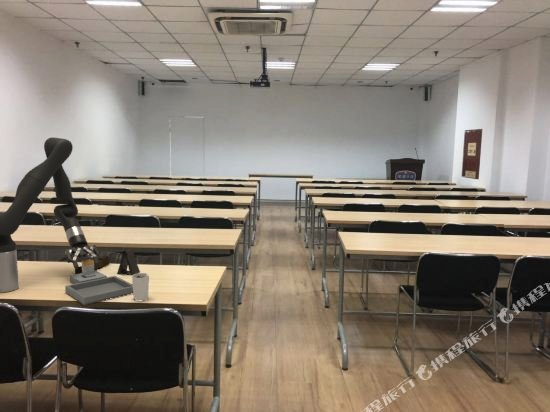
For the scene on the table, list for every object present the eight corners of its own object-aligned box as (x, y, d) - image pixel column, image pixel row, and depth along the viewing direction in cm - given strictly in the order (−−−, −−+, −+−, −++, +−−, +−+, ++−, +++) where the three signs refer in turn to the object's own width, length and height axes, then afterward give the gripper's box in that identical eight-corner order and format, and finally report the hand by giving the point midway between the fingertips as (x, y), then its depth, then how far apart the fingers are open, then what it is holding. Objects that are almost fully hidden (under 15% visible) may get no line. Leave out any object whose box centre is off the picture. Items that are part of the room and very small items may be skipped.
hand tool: (82, 277, 207) (81, 265, 206) (74, 275, 209) (73, 264, 208) (114, 265, 228) (114, 255, 228) (107, 264, 230) (106, 254, 229)
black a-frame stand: (139, 272, 216) (139, 248, 214) (133, 275, 210) (133, 251, 208) (123, 270, 218) (122, 247, 216) (116, 274, 212) (116, 250, 210)
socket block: (80, 287, 191) (80, 281, 190) (70, 281, 199) (69, 275, 199) (107, 282, 199) (106, 276, 199) (96, 276, 207) (95, 270, 207)
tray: (84, 305, 170) (83, 298, 170) (65, 292, 184) (65, 285, 184) (136, 292, 186) (136, 286, 185) (115, 282, 200) (115, 275, 199)
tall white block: (86, 284, 196) (85, 262, 195) (82, 281, 199) (81, 260, 198) (94, 282, 199) (94, 261, 198) (91, 280, 202) (90, 259, 201)
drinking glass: (129, 301, 176) (128, 277, 175) (137, 295, 183) (136, 272, 181) (144, 302, 175) (144, 278, 174) (152, 296, 182) (151, 273, 180)
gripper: (62, 235, 198) (73, 265, 192) (93, 231, 208) (104, 259, 202) (58, 245, 203) (69, 274, 196) (89, 240, 213) (100, 268, 206)
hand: (87, 266), depth 199 cm, fingers open, 8 cm apart
